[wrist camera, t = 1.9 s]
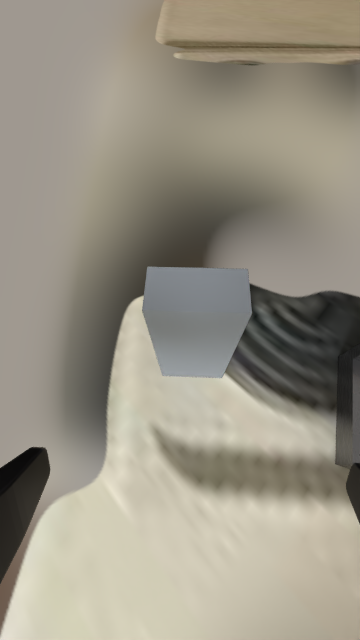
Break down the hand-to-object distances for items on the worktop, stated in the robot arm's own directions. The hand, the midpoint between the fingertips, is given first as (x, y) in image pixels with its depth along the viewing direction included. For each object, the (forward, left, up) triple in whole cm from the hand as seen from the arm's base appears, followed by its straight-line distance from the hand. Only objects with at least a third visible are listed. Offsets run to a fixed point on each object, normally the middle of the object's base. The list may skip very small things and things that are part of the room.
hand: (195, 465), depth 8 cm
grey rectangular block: (+7, +2, -13) cm, 15 cm away
